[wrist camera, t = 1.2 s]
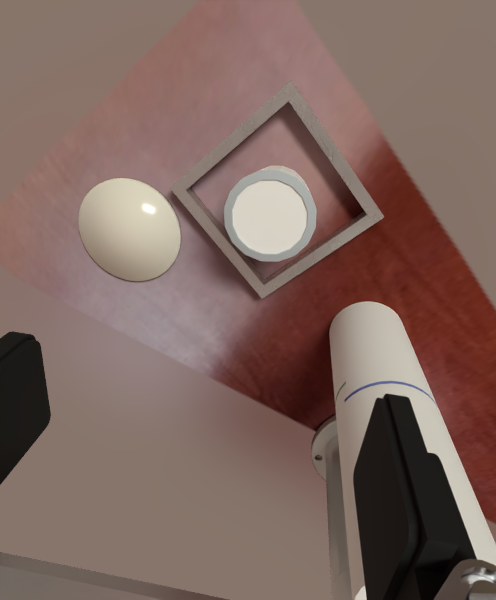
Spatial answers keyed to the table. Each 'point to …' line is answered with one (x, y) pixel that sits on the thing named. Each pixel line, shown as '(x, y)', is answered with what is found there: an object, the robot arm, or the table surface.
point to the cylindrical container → (359, 404)
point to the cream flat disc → (129, 229)
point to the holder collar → (314, 253)
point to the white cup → (270, 214)
